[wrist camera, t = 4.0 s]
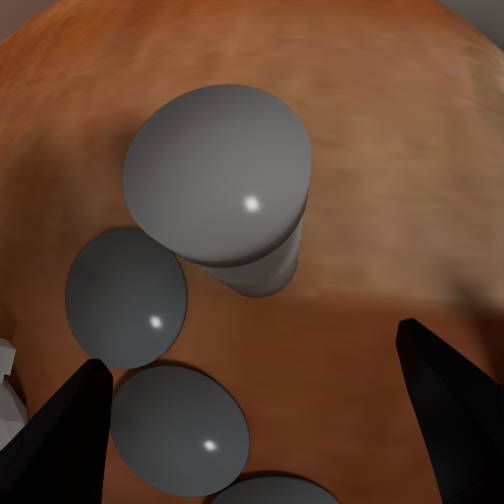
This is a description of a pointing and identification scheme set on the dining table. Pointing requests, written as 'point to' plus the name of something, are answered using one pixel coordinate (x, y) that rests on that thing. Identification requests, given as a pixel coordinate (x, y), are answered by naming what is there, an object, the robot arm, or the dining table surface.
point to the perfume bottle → (9, 398)
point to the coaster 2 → (275, 491)
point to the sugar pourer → (224, 184)
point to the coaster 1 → (126, 299)
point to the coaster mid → (180, 431)
